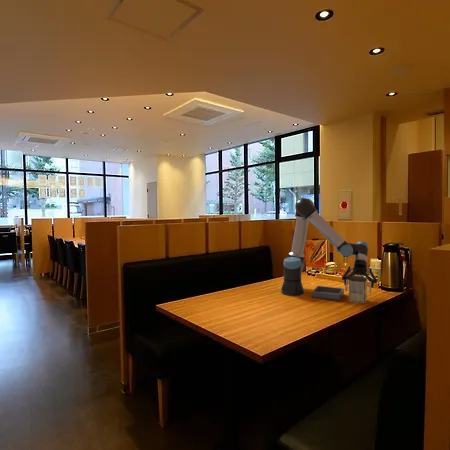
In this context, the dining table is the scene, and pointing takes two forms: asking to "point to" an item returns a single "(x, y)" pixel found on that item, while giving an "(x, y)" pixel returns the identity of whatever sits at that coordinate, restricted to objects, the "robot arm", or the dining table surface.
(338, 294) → the tray
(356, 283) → the coffee can
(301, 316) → the dining table surface
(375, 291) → the dining table surface
